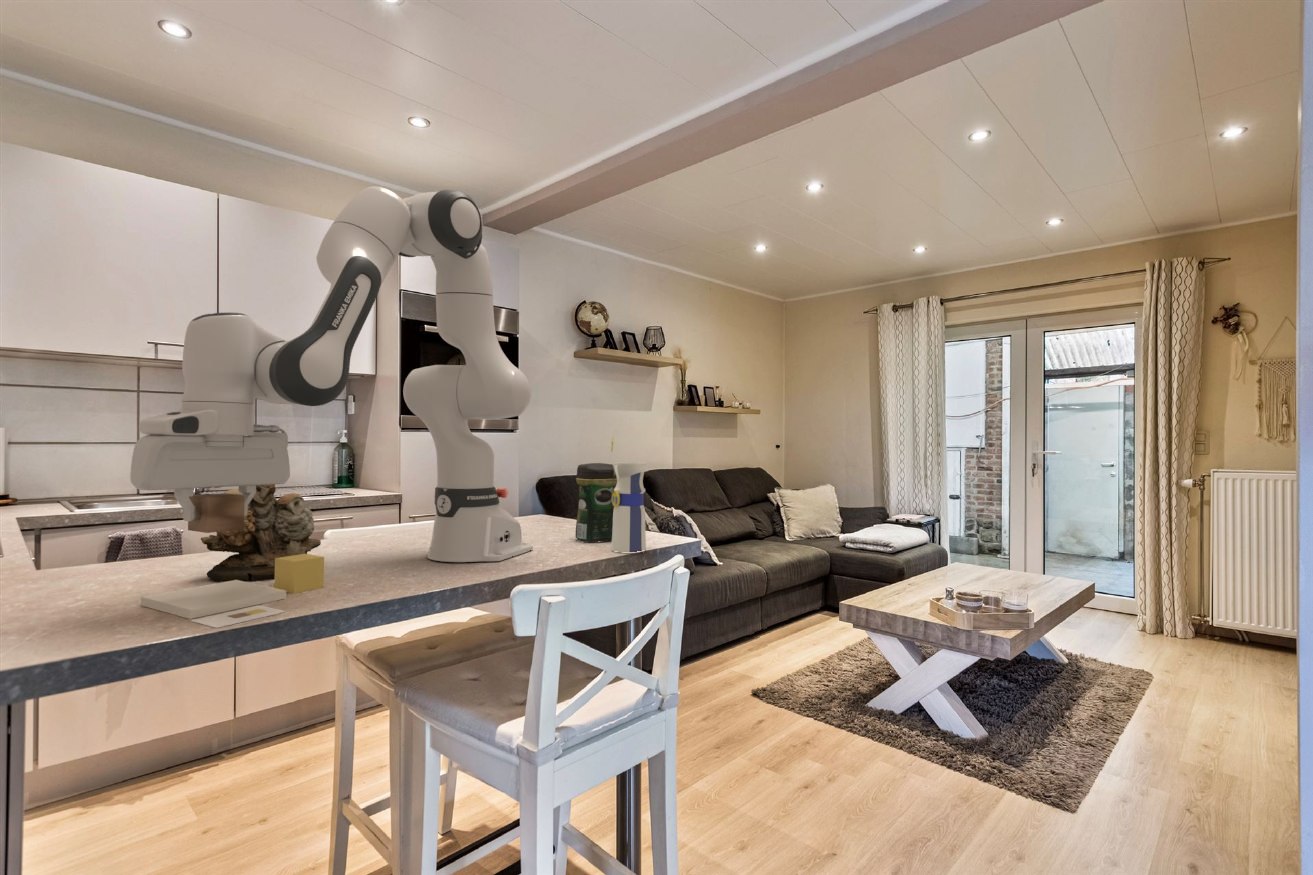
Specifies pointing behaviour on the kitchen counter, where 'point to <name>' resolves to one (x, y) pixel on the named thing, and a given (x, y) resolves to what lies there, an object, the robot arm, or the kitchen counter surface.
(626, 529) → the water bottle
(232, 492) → the three owls sculpture
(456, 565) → the kitchen counter surface
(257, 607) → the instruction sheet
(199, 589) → the plate
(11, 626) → the kitchen counter surface
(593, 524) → the coffee jar
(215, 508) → the walnut block
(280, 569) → the mustard block
